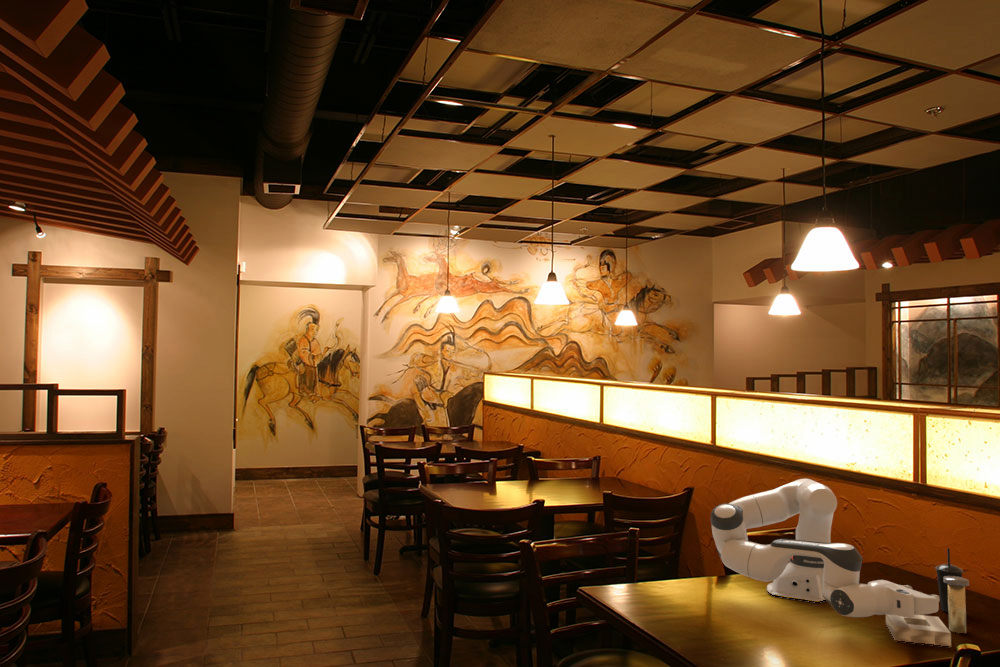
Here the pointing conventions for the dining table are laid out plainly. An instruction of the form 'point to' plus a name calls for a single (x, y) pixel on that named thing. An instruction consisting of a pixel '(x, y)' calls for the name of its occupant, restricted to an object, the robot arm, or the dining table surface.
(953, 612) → the beige jar with lid
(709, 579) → the dining table surface
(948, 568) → the drinking cup
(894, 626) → the block
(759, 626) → the dining table surface
